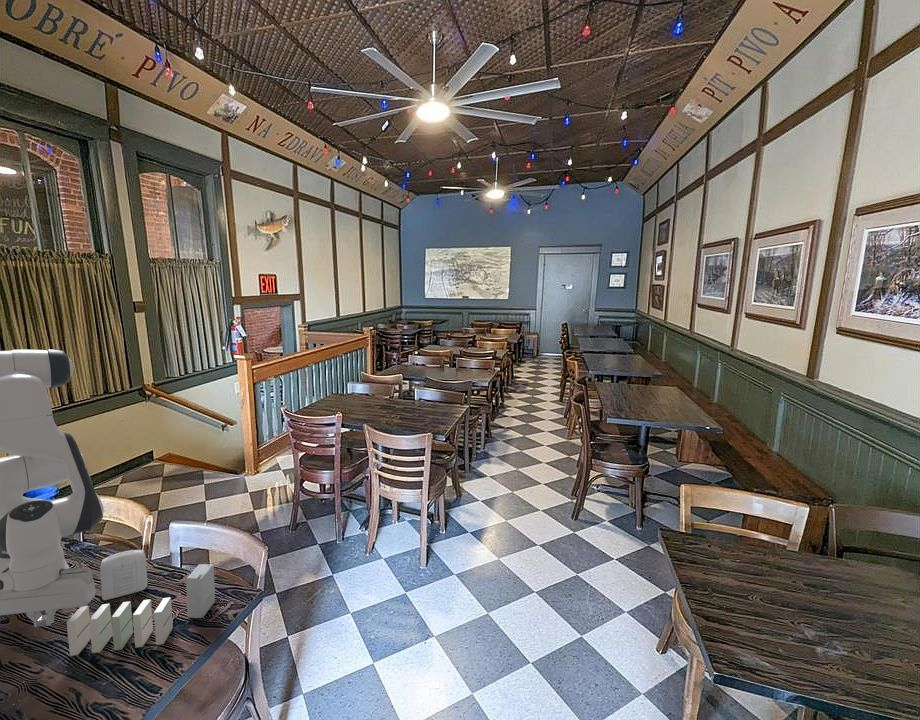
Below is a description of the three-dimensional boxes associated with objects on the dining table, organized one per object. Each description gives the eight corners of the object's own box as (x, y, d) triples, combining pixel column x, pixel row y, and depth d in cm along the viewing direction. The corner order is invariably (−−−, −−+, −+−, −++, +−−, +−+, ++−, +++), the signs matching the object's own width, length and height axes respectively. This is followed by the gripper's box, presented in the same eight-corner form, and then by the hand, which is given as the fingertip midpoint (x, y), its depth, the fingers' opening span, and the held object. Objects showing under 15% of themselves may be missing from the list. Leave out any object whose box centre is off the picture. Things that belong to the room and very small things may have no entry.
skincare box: (200, 602, 115) (198, 563, 113) (216, 602, 115) (214, 563, 114) (186, 618, 109) (184, 578, 107) (203, 619, 109) (201, 578, 108)
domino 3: (135, 647, 100) (132, 615, 98) (145, 631, 105) (143, 600, 103) (142, 646, 100) (140, 614, 99) (153, 630, 105) (150, 599, 104)
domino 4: (156, 645, 101) (153, 612, 99) (165, 629, 106) (163, 598, 104) (163, 644, 101) (161, 611, 100) (172, 628, 106) (170, 597, 105)
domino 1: (70, 655, 97) (66, 622, 95) (84, 638, 102) (80, 606, 100) (78, 654, 97) (74, 621, 96) (91, 637, 102) (88, 605, 101)
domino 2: (92, 653, 98) (89, 619, 96) (105, 636, 103) (102, 604, 101) (100, 652, 98) (97, 618, 97) (112, 635, 103) (109, 603, 102)
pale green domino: (133, 632, 104) (130, 601, 103) (121, 649, 99) (119, 616, 98) (125, 633, 104) (123, 602, 102) (114, 650, 99) (111, 617, 97)
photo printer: (148, 581, 122) (145, 543, 120) (147, 590, 119) (144, 551, 117) (103, 593, 117) (100, 554, 115) (100, 603, 113) (97, 562, 111)
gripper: (99, 558, 100) (103, 608, 102) (-3, 567, 95) (4, 619, 97) (82, 575, 94) (87, 628, 96) (-28, 585, 89) (-20, 641, 91)
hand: (44, 624), depth 97 cm, fingers closed
